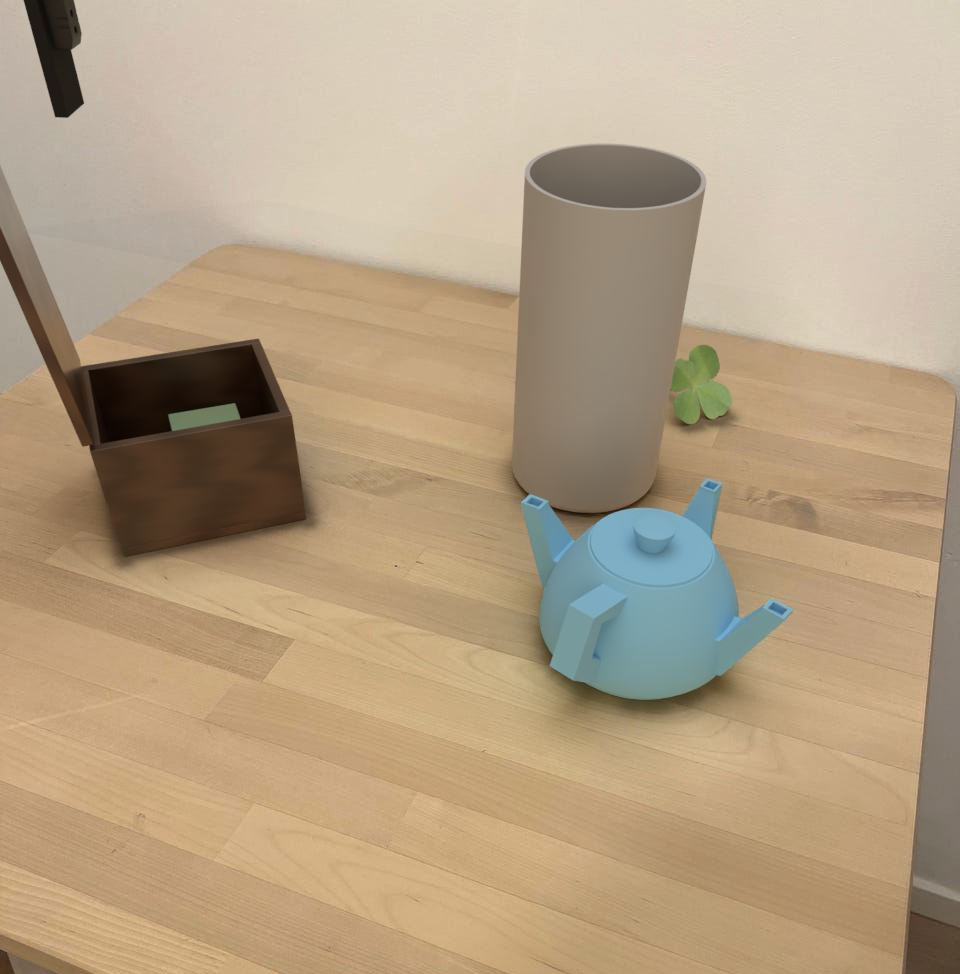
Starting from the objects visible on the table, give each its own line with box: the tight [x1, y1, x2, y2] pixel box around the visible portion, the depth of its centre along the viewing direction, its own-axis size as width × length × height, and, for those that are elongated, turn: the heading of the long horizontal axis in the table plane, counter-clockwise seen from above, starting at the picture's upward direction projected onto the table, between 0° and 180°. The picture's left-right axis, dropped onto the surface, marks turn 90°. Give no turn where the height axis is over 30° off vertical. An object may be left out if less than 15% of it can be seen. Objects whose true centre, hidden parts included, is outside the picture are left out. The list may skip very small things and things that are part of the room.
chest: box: [81, 338, 307, 557], centre depth 78 cm, size 15×13×10 cm
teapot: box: [520, 477, 794, 701], centre depth 66 cm, size 15×15×11 cm
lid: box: [0, 165, 93, 448], centre depth 67 cm, size 16×13×1 cm
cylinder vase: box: [511, 143, 707, 514], centre depth 76 cm, size 12×12×25 cm
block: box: [168, 403, 241, 431], centre depth 80 cm, size 6×6×6 cm
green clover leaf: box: [670, 344, 733, 425], centre depth 92 cm, size 7×8×7 cm
